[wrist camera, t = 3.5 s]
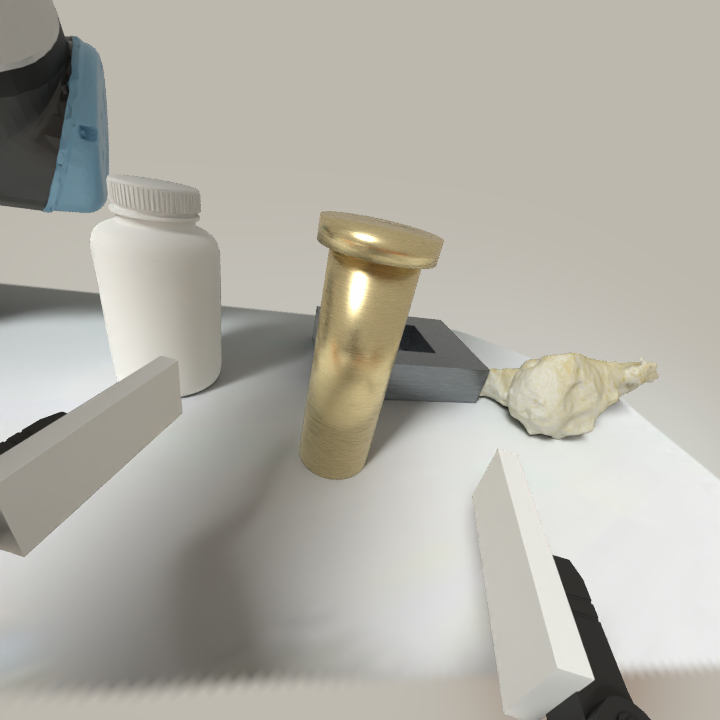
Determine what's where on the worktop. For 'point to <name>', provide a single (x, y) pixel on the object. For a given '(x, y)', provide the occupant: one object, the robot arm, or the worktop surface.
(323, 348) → the brass flanged peg
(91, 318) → the worktop surface
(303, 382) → the worktop surface
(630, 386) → the beige rock
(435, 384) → the block
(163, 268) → the pill bottle
